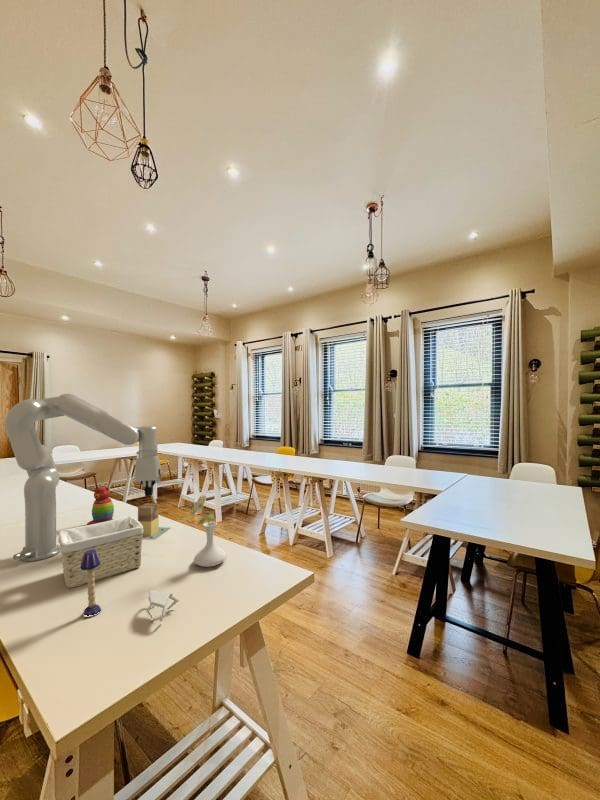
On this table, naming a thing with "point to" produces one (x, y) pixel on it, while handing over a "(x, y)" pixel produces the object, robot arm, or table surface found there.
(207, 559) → the flower in vase
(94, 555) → the toy lamp
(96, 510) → the stacking bear
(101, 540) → the storage basket
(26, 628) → the table surface
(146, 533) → the mustard cube
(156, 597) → the white legged frame
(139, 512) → the walnut cube
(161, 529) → the baseplate
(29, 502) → the robot arm
